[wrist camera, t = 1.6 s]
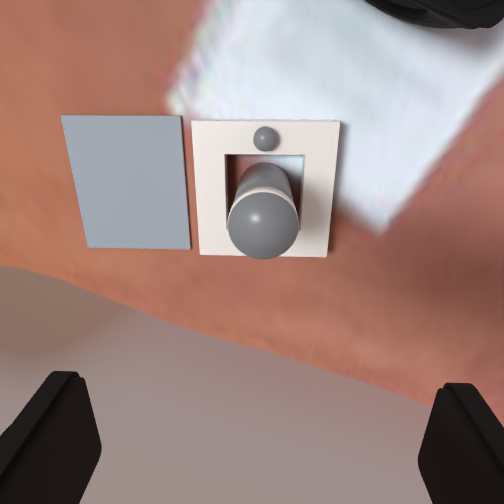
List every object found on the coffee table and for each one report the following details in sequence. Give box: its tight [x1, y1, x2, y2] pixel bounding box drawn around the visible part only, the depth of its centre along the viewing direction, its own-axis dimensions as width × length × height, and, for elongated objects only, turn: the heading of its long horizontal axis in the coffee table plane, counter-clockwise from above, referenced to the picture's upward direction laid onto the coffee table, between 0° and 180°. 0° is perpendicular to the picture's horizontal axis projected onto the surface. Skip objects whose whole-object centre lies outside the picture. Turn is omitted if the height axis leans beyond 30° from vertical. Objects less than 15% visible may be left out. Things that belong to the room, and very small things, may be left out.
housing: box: [191, 119, 340, 257], centre depth 30 cm, size 12×12×3 cm
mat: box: [61, 115, 191, 249], centre depth 32 cm, size 10×12×1 cm
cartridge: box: [227, 162, 299, 259], centre depth 27 cm, size 5×5×10 cm
